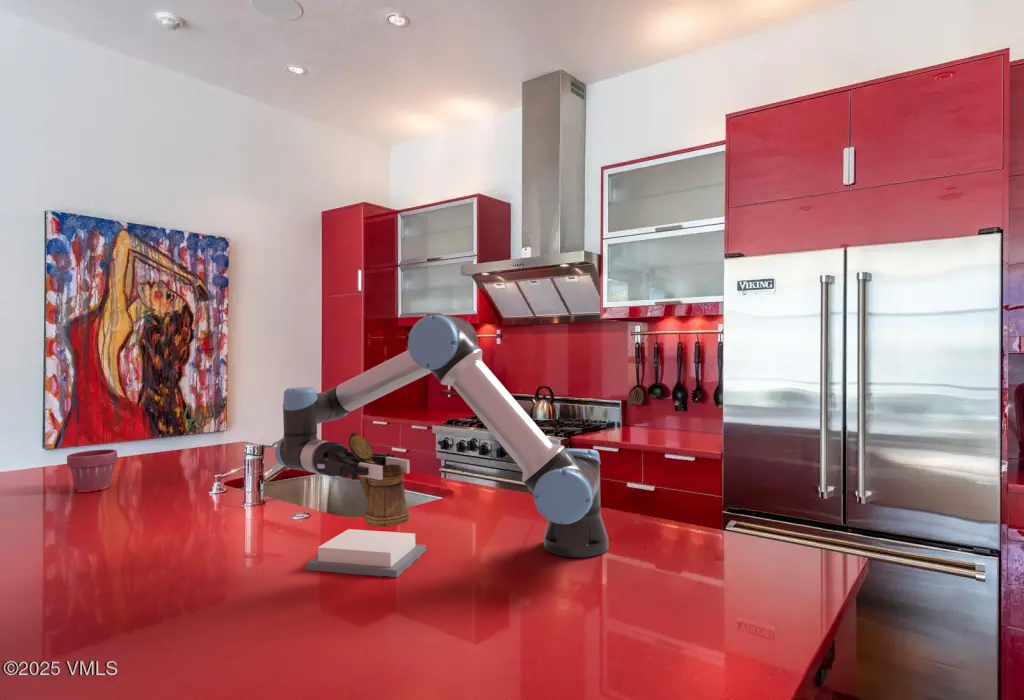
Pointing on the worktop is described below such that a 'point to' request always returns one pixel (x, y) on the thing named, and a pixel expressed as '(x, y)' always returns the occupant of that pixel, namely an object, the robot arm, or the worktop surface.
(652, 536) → the worktop surface
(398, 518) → the wooden mug
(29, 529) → the worktop surface
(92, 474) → the plant pot
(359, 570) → the plate
